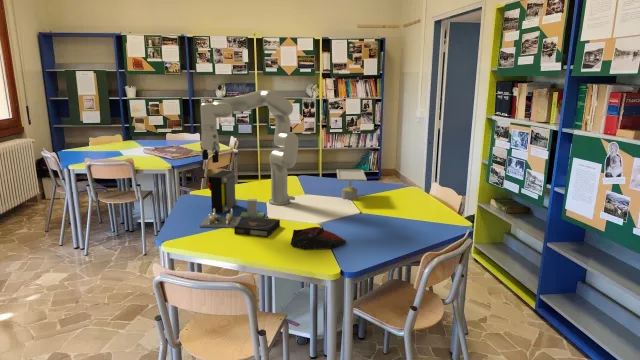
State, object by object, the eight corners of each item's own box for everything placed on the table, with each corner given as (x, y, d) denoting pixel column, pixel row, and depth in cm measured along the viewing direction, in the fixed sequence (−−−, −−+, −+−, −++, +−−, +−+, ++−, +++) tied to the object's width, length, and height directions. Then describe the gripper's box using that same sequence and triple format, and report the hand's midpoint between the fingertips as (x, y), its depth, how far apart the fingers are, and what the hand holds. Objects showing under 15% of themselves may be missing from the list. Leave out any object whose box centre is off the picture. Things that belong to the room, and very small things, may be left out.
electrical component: (226, 213, 235) (224, 177, 230) (208, 212, 237) (207, 176, 232) (238, 204, 252) (237, 171, 247) (222, 203, 254) (220, 170, 249)
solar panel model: (365, 204, 257) (366, 179, 254) (336, 203, 257) (337, 178, 254) (362, 192, 284) (362, 169, 281) (335, 191, 284) (336, 169, 281)
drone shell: (284, 246, 192) (284, 228, 190) (310, 233, 207) (310, 217, 206) (324, 257, 180) (325, 239, 178) (348, 243, 196) (349, 226, 194)
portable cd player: (234, 235, 204) (234, 227, 204) (249, 223, 221) (249, 216, 220) (266, 238, 200) (266, 230, 199) (279, 227, 216) (279, 219, 215)
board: (264, 214, 235) (264, 198, 233) (262, 218, 228) (262, 201, 226) (242, 214, 235) (241, 197, 233) (239, 218, 228) (239, 201, 226)
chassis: (241, 218, 227) (241, 207, 225) (236, 227, 213) (235, 216, 212) (207, 218, 227) (206, 207, 225) (199, 227, 213) (199, 215, 212)
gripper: (224, 128, 216) (226, 162, 220) (206, 126, 228) (208, 158, 232) (211, 129, 211) (213, 164, 214) (193, 126, 223) (195, 159, 226)
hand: (210, 161), depth 223 cm, fingers open, 9 cm apart
